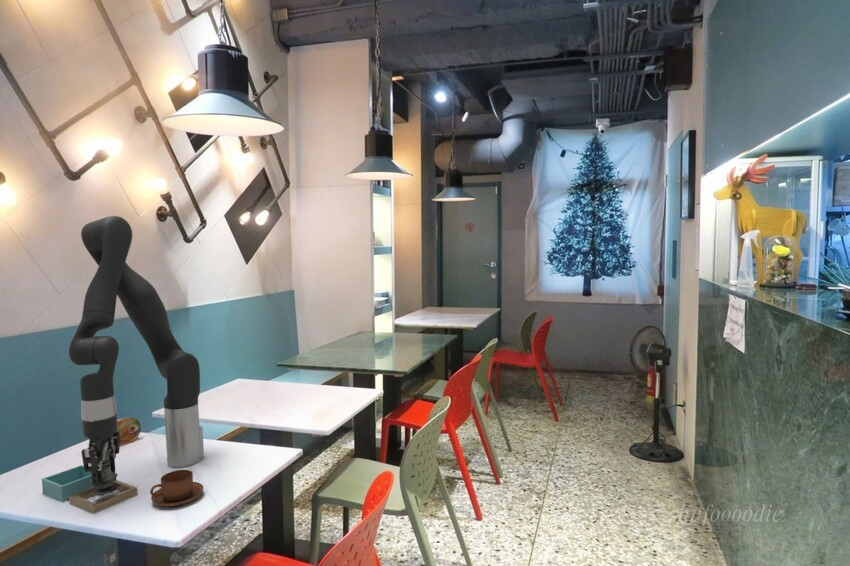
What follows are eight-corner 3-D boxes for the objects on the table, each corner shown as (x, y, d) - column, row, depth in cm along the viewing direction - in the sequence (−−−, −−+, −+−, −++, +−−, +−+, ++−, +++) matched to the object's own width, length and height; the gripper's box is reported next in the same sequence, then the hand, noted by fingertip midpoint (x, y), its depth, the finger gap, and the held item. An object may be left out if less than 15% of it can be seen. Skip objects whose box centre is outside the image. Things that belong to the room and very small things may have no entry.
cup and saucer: (169, 515, 126) (168, 490, 125) (141, 503, 132) (140, 479, 132) (213, 495, 136) (212, 471, 136) (185, 484, 142) (184, 462, 142)
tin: (96, 455, 165) (95, 428, 164) (90, 453, 166) (89, 427, 166) (142, 439, 178) (140, 414, 178) (136, 437, 180) (134, 413, 179)
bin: (83, 478, 147) (82, 464, 147) (103, 486, 142) (102, 471, 142) (42, 493, 139) (41, 478, 138) (62, 502, 134) (61, 486, 133)
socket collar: (113, 486, 142) (113, 478, 142) (137, 494, 137) (137, 487, 137) (69, 503, 133) (69, 495, 133) (93, 513, 127) (92, 505, 127)
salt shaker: (117, 493, 133) (113, 447, 132) (90, 498, 131) (86, 451, 130) (119, 483, 139) (116, 439, 138) (93, 488, 136) (90, 443, 135)
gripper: (98, 407, 140) (103, 468, 141) (67, 425, 126) (72, 493, 127) (128, 405, 141) (132, 466, 142) (100, 423, 126) (105, 491, 128)
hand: (104, 479), depth 134 cm, fingers closed on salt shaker, 6 cm apart
